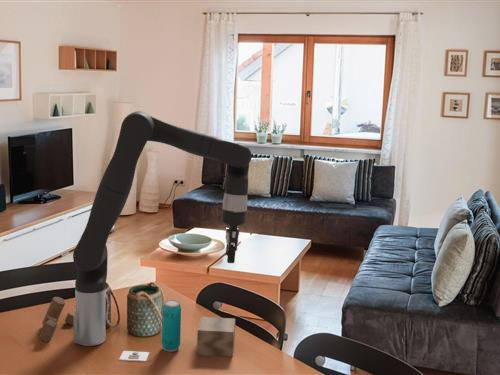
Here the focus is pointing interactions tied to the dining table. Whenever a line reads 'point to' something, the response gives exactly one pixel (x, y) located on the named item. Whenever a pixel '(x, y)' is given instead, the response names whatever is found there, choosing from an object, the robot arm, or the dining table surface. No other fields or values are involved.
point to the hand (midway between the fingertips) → (229, 259)
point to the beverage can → (171, 325)
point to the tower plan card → (134, 356)
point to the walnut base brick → (216, 336)
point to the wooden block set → (53, 318)
